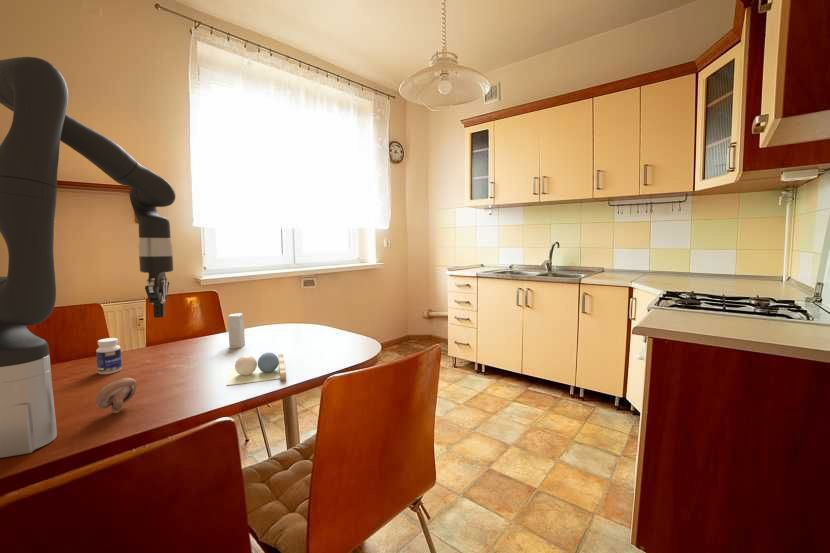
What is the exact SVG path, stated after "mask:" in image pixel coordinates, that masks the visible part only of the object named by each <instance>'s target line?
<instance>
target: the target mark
mask: <svg viewBox="0 0 830 553" xmlns="http://www.w3.org/2000/svg"><path fill="white" fill-rule="evenodd" d="M274 379H275V380H280V372H279V364H278V366H277V368H276V369H275V370H274V371H272V372H269V373H265V372H262V371H261V370H260V369H259V367H258V364H257V367H256V370H255V371H254V372H253V373H252V374H250V375H247V376H243V375H240V374H238V373H237V372H236V370H235V367H232V368H230V370H229V374H228V378H227V382H226V386H227V387H229V386H235V385H236V386H237V385H243V384H251V382H252V383H259V382H264V381H265V382H266V381H275V380H274Z"/></svg>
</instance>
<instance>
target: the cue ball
mask: <svg viewBox="0 0 830 553" xmlns="http://www.w3.org/2000/svg"><path fill="white" fill-rule="evenodd" d="M257 365H258V361H257V359H256V358H255V357H254V356H252V355H250V354H245V355H242V356H240V357H238V358H237V360H236V361H235V364H234V368H235V370H236V372H237V373H238V374H240V375H243V376H247V375H250V374H252V373H253V372H254V371H255V370H256V367H257Z"/></svg>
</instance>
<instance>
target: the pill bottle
mask: <svg viewBox="0 0 830 553" xmlns="http://www.w3.org/2000/svg"><path fill="white" fill-rule="evenodd" d="M118 343H119V339H118V338H117V337H116V338H115V337H107V338H102V339H99V340H97V345H98V348H97V349H95V350H96V369H97V370H96V371H97V373H98V374H99V375H110V374H114V373H118V372H119V371H121V370H122V367H123V365H122V351H121V350H122V349H121V346H120V345H118Z"/></svg>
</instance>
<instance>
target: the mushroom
mask: <svg viewBox="0 0 830 553" xmlns="http://www.w3.org/2000/svg"><path fill="white" fill-rule="evenodd" d="M137 384H138V383H137V381H136V379H134V378H132V377H124V378H120V379H117V380H115V381H112V382H110V383H108V384H106V385H105V386H103V388H101V389H100V391H98V394H97V398H96V400H95V405H96V406H97V407H98V408H100V409H107V408H109V407H111V408H110V410H111V412H112V413H114V414H117V413H119V412H120V411H121V409H122V408H123V406H124V404H126V403H127V402H129V401H131V399H132V398H133V397H134V396H135V393H136V389H137V386H138V385H137Z"/></svg>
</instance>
